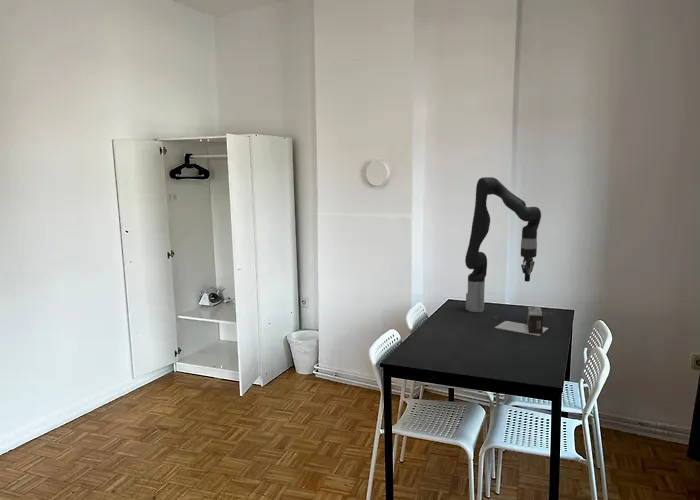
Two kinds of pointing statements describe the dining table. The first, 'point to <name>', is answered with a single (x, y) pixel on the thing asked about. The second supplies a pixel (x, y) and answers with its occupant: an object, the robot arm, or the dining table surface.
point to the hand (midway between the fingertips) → (527, 281)
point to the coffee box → (535, 320)
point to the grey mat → (517, 327)
